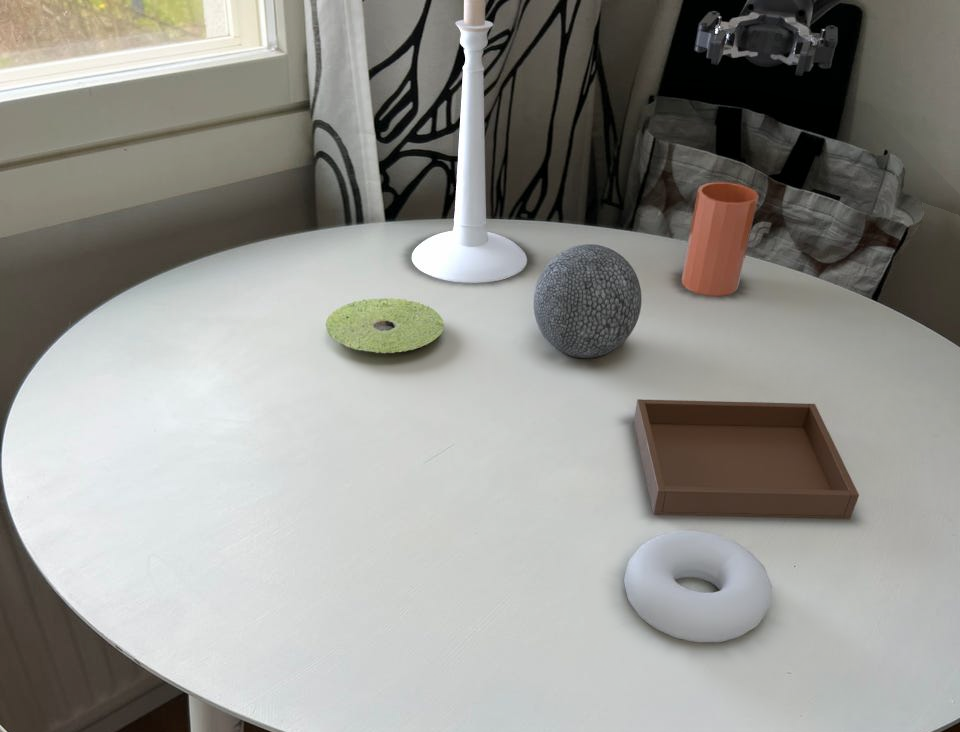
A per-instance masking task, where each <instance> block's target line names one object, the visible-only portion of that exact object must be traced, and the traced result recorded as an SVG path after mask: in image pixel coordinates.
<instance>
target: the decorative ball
mask: <svg viewBox="0 0 960 732" xmlns="http://www.w3.org/2000/svg"><path fill="white" fill-rule="evenodd" d="M641 308H642V289H641V283H640V281H639V278H638V275H637V273H636V271H635V269H634V268H633V266H632V265H631V263H630V262H629V261H628V260H627V259H626V258H625V257H624V256H623V255H621V254H620V253H619V252H617V251H615V250H613V249H612V248H610V247H607V246H604V245H600V244H594V243H593V244H592V243H585V244H579V245H575V246H572V247H569V248H567V249H565V250H563V251H561V252H559V253H558V254H557V255H556V256H554V257H553V258H552V259H550V261H549V262H548V263H547V264H546V265H545V266H544V268H543V270H542V272H541V273H540V275H539V277H538V278H537V282H536V285H535V289H534V294H533V314H534V318H535V322H536V325H537V327H538V329H539V331H540V333H541V335H542V336H543V338H544V339H545V340H546V341H547V342H548V343H549V345H551V346H552V347H553V348H554V349H556V350H557V351H559V352H561V353H562V354H564V355H567V356H570V357H573V358H577V359H578V358H579V359H592V358H598V357H601V356H605V355H607V354H609V353H610V352H611V353H612V352H613V351H614V350H616V349H617V348H619V347H620V346H621V345H622V344H623V343H625V341H627V339H628V338H629V337H630V335H631V334H632V332H633V331H634V329H635V328H636V325H637V323H638V320H639V317H640V314H641Z"/></svg>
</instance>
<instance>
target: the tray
mask: <svg viewBox="0 0 960 732" xmlns="http://www.w3.org/2000/svg"><path fill="white" fill-rule="evenodd" d="M634 411H635V412H634V418H633V426H634V431H635V436H636V440H637V445H638V449H639V454H640V459H641V463H642V468H643V473H644V477H645V482H646V486H647V487H646V488H647V491H648V495H649V500H650V504H651V505H650V506H651V510H652V514H653V515H654V516H688V517H691V516H692V517H693V516H694V517H730V518H731V517H733V518H734V517H735V518H738V517H739V518H778V519H779V518H781V519H819V520H820V519H821V520H823V519H825V520H827V519H828V520H851V518H852V515H853V514H854V513H853V512H854V510H855V507H856V504H857V502H858V499H859V497H860V494H859V492H858V490H857V488H856V485H855V483H854V482H853V480H852V478H851V476H850V473H849V471H848V469H847V467H846V465H845V463H844V461H843V459H842V457H841V455H840V452H839V451H838V448H837V446H836V445H835V443H834V440H833V438H832V436H831V434H830V431H829V430H828V428H827V426H826V424H825V422H824V420H823V418H822V416H821V414H820V412H819V409H818V407H817V405H816V403H798V402H794V403H793V402H762V401H761V402H760V401H758V402H757V401H756V402H755V401H722V400H721V401H720V400H719V401H717V400H680V399H677V400H676V399H641V398H640V399H639V398H638V399H636V405H635V409H634Z"/></svg>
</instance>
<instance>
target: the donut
mask: <svg viewBox="0 0 960 732" xmlns="http://www.w3.org/2000/svg"><path fill="white" fill-rule="evenodd" d="M765 567H766V566H764V564H763V563H762V562H761V561H760V560H759V559H758V557H756V556H755V554H754V553H752V551H751V550H749V549H747V548H746V547H744V546H743V545H741V544H740V543H738V542H736V540H733V539H730V538H727V537H725V536H722V535H720V534H716V533H711V532H706V531H701V530H678V531H672V532H668V533H665V534H660V535H658V536H656V537H653V538H651V539H650V540H647V541H646V542H644V543H643V544H641V546H639V548H638V549H637V550H636V551H635V553H634V554H633V555H632V556H631V557H630V558H629V561H628V563H627V566H626V570H625V574H624V578H623V580H624V588H625V591H626V592H625V593H626V597H627V599H628V602H629V603H630V605H631V607H632V608H633V609H634V611H635V613H636V614H637V615H638V616H639V618H641V619H642V620H643V621H645V622H646V623H647V624H648V625H649V626H651V627H653V628H654V629H655V630H657V631H659V632H662V633H664V634H666V635H668V636H671V637H673V638H674V639H679V640H682V641H689V642H693V643H723V642H726V641H730V640H734V639H737V638H741V637H742V636H743V635H745V634H747V633H749V632H750V631H751V630H753V629H755V628H756V627H758V626H759V625H760V624H761V621H762V620H763V619H764V617H765V616H766V614H767V613H768V611H769V609H770V607H771V598H772V588H773V586H772V583H771V580H770V578H769V575H768V573H767V570H766V568H765ZM683 578H693V579H694V578H695V579H700V580H703V581H706V582H708V583H710V584H711V585H713V586H715V587H716V588H717V589H718V591H715V592H700V591H696V590H691V589H689V588H687V587H685V586H682V585H680V584H679V583H678V582H677V580H679V579H683Z"/></svg>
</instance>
